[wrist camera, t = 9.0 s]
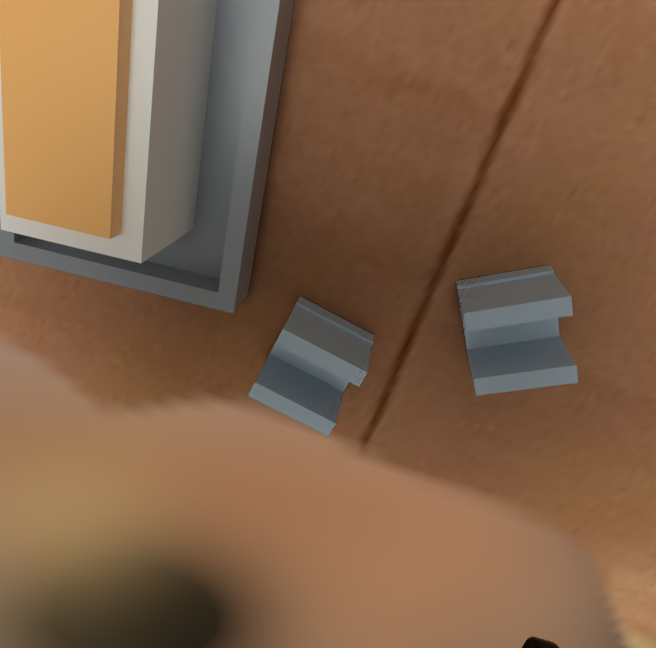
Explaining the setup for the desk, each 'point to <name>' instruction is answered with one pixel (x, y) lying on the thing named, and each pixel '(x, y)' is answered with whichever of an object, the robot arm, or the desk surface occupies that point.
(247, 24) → the grey rectangular tray
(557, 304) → the clip
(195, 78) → the white orange block
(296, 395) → the clip
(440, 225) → the desk surface
